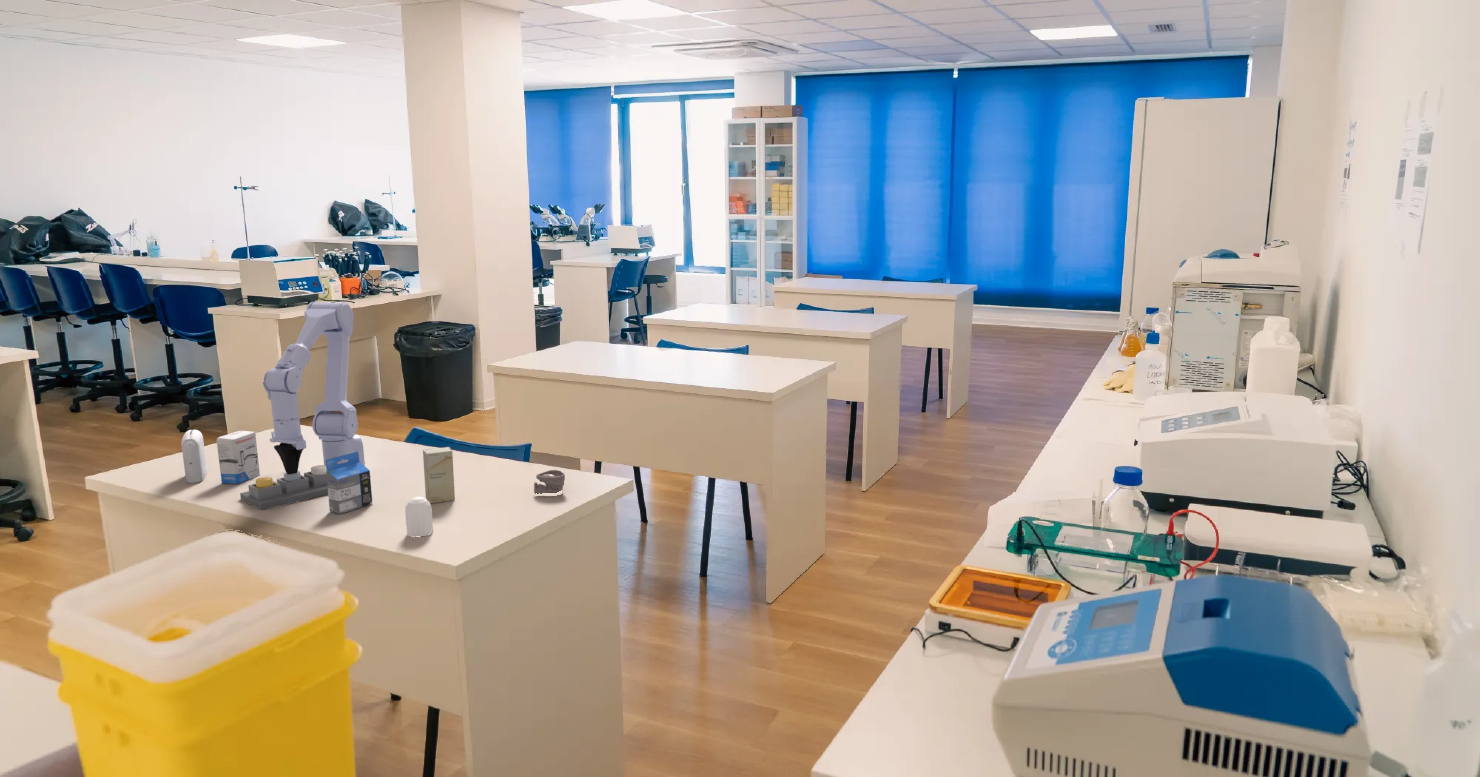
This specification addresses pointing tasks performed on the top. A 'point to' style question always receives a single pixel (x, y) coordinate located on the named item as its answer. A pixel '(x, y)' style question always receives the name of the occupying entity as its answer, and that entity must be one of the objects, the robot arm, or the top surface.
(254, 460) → the ink box
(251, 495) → the panel
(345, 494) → the label tape cartridge
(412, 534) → the white rounded cylinder
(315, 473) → the ivory button
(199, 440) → the photo printer
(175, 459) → the top surface
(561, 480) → the dental mold
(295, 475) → the slate button
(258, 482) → the amber button
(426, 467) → the skincare box
